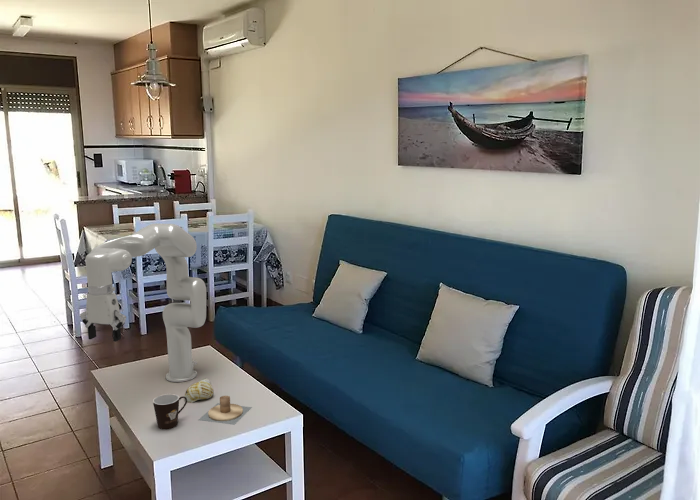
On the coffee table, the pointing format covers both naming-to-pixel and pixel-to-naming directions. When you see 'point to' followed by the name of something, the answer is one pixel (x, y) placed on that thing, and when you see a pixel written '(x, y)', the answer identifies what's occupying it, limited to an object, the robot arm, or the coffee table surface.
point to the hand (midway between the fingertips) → (104, 339)
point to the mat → (234, 421)
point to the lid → (225, 410)
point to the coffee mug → (167, 410)
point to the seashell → (199, 391)
